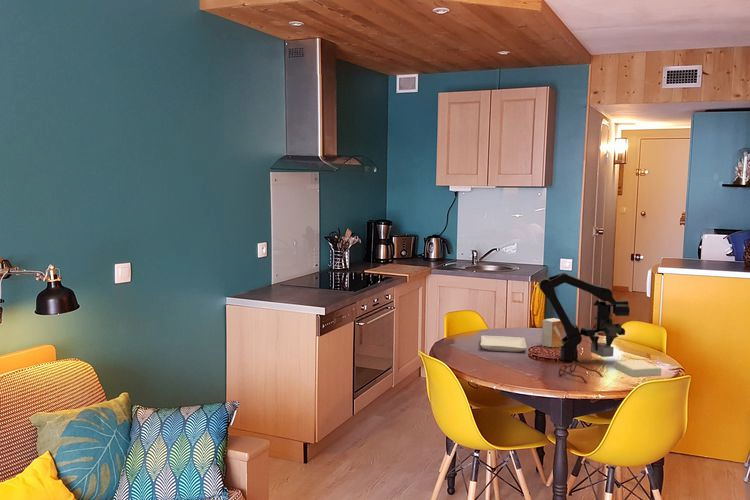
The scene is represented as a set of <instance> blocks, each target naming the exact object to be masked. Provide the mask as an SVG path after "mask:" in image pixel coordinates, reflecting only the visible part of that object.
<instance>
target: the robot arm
mask: <svg viewBox="0 0 750 500" xmlns="http://www.w3.org/2000/svg"><path fill="white" fill-rule="evenodd" d="M562 284H568V285H569V286H572V287H575V288H577V289H580V290H582V291H585V292H588V293H590V294H591V295H593V296H594V297H596V298H597V299H595V300H594V301H593V302H591V304H592V305H593V306H596V316H594V320H596V321H595V323H596V324H595V325H594V327H593V328H592V327H581V328H580V329H579V326H578V325H577V324H576V323H575V324H572V322H571V320H570V319H569V316H568V315H567V313H566V311H565V310H564V308H563V306H562V304H561V302H560V300H559V299H558V296H557V294H556V290H555V288H557V287H559V286H561V285H562ZM537 285H538V288H539V289H540V291H541V292H542V293H543V295H544V296H545V297H546V299H548V300H549V303H550V304H551V306H552V308H553V310H554V312H555V314H556V316H557V317H558V319H560V321H561V323H562V325H563V332H564V333H565V336H563V339H562V340H561V341H562V346H561V347H560V357H558V360H560V361H562V362H564V363H572V362H573V361H576V362H577V363H578V362H579V358H578V357H579V355H578V354H579V350H578V345H580V344H581V343H582V341H583V338H582V336H584V337H588V338H589V340H590V341H591V343H592V344H593V346H594V349H595V351H597V349H598V343H599V339H600V336H598V335H600V334H605V343H606V345H609V346H612V344H613V341H614V340H615V339H616V338H618V337H619V336H625V335H626V329H625V328H624V327H622V324H621V323H613V319H612V318H611V314H612V315H613V316H614V317H629V316H630V305H629V301H628V300H616V299H615V298H614V297H613V291H612V290H611V289H610V288H608V287H607V286H604V285H599V284H593V283H590V282H587V281H585V280H582V279H580V278H577V277H575V276H572V275H570V274H567V273H566V272H560V273H558V274H555V275H553V276H549V277H541V278H540V279H539V281H538V282H537ZM598 299H599V300H600V301H599V300H598ZM607 302H608V303H607Z"/></svg>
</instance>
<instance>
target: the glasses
mask: <svg viewBox="0 0 750 500" xmlns="http://www.w3.org/2000/svg"><path fill="white" fill-rule="evenodd" d="M570 363H571V364H568V365H566V364H562V365H561V366H560V368H559V369H558V375H559V376H560V377H561V376H564V374H565V373H566V374H567V375H570V376H571V377H576V378H581V380H582V381H583V382H584V383H585V384H588V381H587V380H586V379H585V377H584V376H582V375H579V374H573V373H572V372H574V371H575V370H576V368H577V367H581V368H583V369H585V370H588V371H590V372H595V373H597V375H599V376H600V377H601V378H604V376H603V374H601V373H600V372H599V371H598V370H596V369H593V368H589V367H587V366H584V365H582V364H580V363H578V362H576V361H573V362H570ZM574 363H575V365H574V368H573V369H572V367H573V364H574ZM563 367H564V369H563ZM567 368H569V371H566V370H567ZM561 372H562V373H561Z"/></svg>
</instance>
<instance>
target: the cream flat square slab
mask: <svg viewBox="0 0 750 500" xmlns="http://www.w3.org/2000/svg"><path fill="white" fill-rule="evenodd" d="M480 339H481V340H480V346H481V347H482V349H485V350H487V351H494V352H512V353H514V352H517V353H518V352H524V351H525V350H527V348H528V346H527V343H526V339H525V337H517V336H505V335H504V336H503V335H481V336H480Z"/></svg>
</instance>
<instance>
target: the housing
mask: <svg viewBox="0 0 750 500" xmlns="http://www.w3.org/2000/svg"><path fill="white" fill-rule="evenodd" d="M590 353H592V354H594V355H597V356H599V357H603V358H608V357H611V358H612V357H614V346H612V345H611V346H609V345H606V342H599V341H598V349H597V351H595V349H594V346H593V344H592V342H590Z"/></svg>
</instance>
